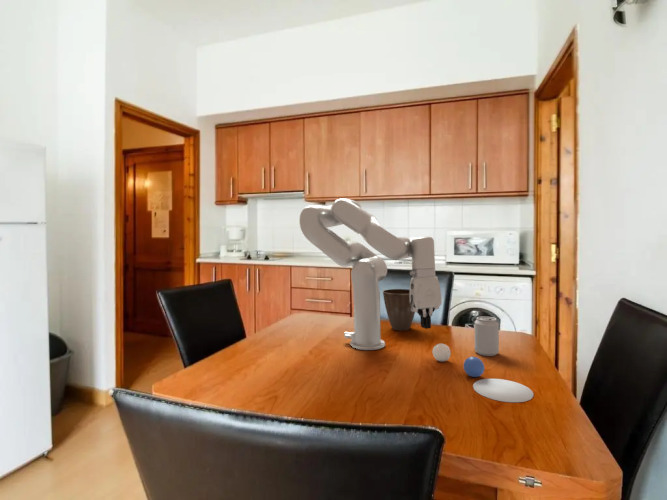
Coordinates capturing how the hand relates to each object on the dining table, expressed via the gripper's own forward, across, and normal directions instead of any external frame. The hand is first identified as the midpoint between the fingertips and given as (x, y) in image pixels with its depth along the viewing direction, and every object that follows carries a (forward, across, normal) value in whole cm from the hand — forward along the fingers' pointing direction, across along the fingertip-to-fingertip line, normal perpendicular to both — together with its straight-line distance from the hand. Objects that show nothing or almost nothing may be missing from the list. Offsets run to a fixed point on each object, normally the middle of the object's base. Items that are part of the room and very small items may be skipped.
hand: (426, 327), depth 125 cm
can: (+10, +18, -9) cm, 22 cm away
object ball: (+6, -1, -23) cm, 24 cm away
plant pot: (+8, +10, +32) cm, 34 cm away
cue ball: (+6, -1, -9) cm, 11 cm away
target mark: (+9, -1, -33) cm, 34 cm away
